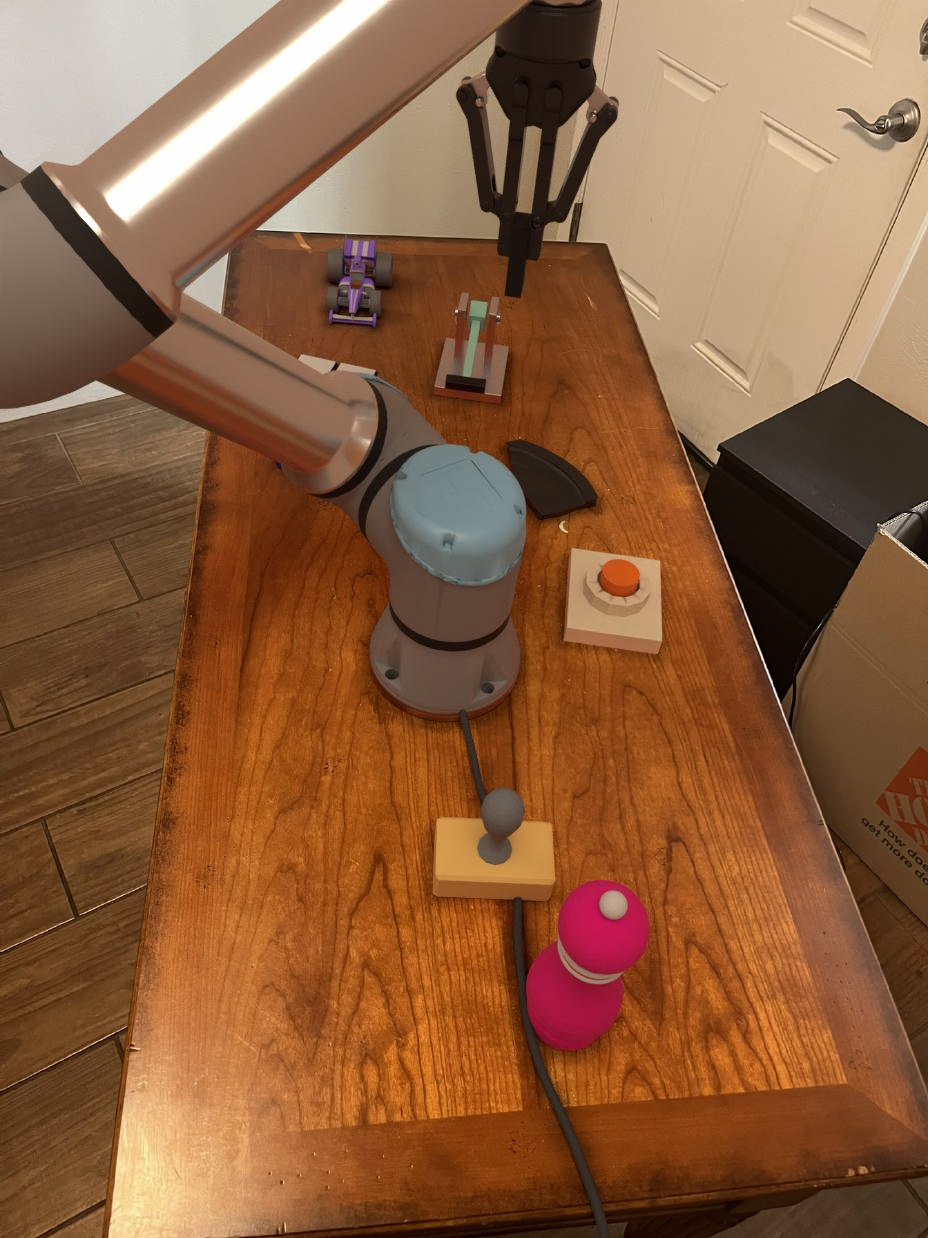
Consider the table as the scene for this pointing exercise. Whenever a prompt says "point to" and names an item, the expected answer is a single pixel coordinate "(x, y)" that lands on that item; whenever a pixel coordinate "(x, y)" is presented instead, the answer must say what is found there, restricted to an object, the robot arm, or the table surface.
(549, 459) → the curved wedge
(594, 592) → the beige square mount
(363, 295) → the toy race car
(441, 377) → the lever switch
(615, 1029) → the table surface
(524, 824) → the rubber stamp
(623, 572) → the bell button
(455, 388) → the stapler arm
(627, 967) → the pepper mill
